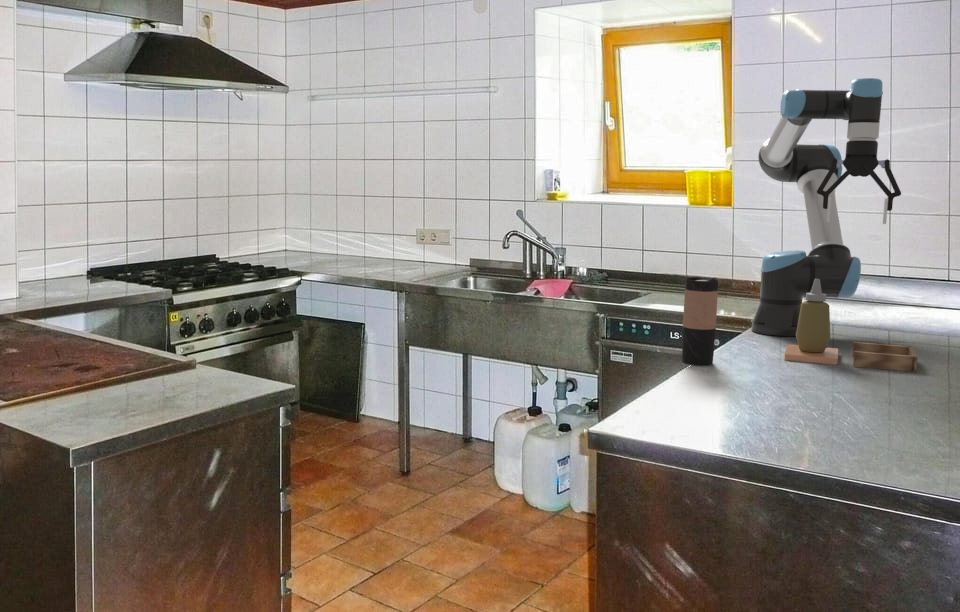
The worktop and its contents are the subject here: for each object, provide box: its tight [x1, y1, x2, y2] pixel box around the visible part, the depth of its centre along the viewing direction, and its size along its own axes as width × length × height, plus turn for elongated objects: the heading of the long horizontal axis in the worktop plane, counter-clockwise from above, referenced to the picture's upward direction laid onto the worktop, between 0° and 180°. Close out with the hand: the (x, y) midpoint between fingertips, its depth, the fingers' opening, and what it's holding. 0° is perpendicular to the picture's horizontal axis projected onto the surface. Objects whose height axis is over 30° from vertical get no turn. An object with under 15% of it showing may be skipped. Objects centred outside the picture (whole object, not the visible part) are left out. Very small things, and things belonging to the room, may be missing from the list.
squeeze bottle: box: [795, 279, 831, 353], centre depth 222 cm, size 8×8×18 cm
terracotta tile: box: [784, 344, 839, 366], centre depth 223 cm, size 12×14×2 cm
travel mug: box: [681, 277, 719, 367], centre depth 212 cm, size 8×8×20 cm
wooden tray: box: [852, 341, 918, 373], centre depth 217 cm, size 14×14×4 cm
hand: (855, 222), depth 235 cm, fingers open, 13 cm apart
